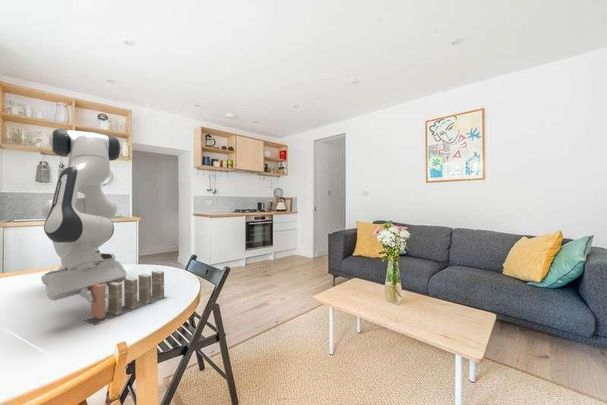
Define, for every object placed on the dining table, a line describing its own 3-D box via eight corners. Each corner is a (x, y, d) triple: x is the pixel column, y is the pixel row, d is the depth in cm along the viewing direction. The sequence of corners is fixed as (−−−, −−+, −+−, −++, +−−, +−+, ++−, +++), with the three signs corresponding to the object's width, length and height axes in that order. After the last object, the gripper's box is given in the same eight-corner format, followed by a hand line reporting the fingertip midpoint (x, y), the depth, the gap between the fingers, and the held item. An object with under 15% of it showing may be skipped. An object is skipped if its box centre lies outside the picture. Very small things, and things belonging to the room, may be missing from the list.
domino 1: (117, 315, 83) (116, 285, 83) (108, 312, 86) (108, 282, 85) (122, 313, 85) (122, 283, 85) (113, 310, 87) (113, 281, 87)
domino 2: (132, 309, 88) (132, 280, 88) (124, 306, 90) (124, 278, 90) (137, 307, 89) (137, 279, 89) (129, 304, 92) (128, 277, 91)
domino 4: (160, 299, 97) (160, 272, 97) (151, 296, 99) (151, 271, 99) (164, 297, 98) (163, 271, 98) (155, 295, 101) (155, 270, 100)
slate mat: (82, 321, 80) (82, 319, 80) (155, 295, 102) (155, 294, 102) (94, 326, 77) (94, 324, 77) (167, 298, 99) (167, 297, 99)
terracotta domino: (96, 313, 82) (96, 282, 82) (105, 316, 80) (104, 285, 80) (90, 315, 81) (90, 284, 81) (99, 318, 79) (99, 286, 79)
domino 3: (147, 303, 92) (147, 276, 92) (138, 301, 95) (138, 274, 94) (151, 302, 94) (151, 275, 94) (143, 299, 96) (142, 273, 96)
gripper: (42, 266, 74) (59, 306, 70) (119, 253, 92) (135, 284, 88) (36, 279, 76) (51, 319, 72) (112, 264, 94) (128, 294, 90)
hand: (98, 299), depth 80 cm, fingers closed on terracotta domino, 2 cm apart
